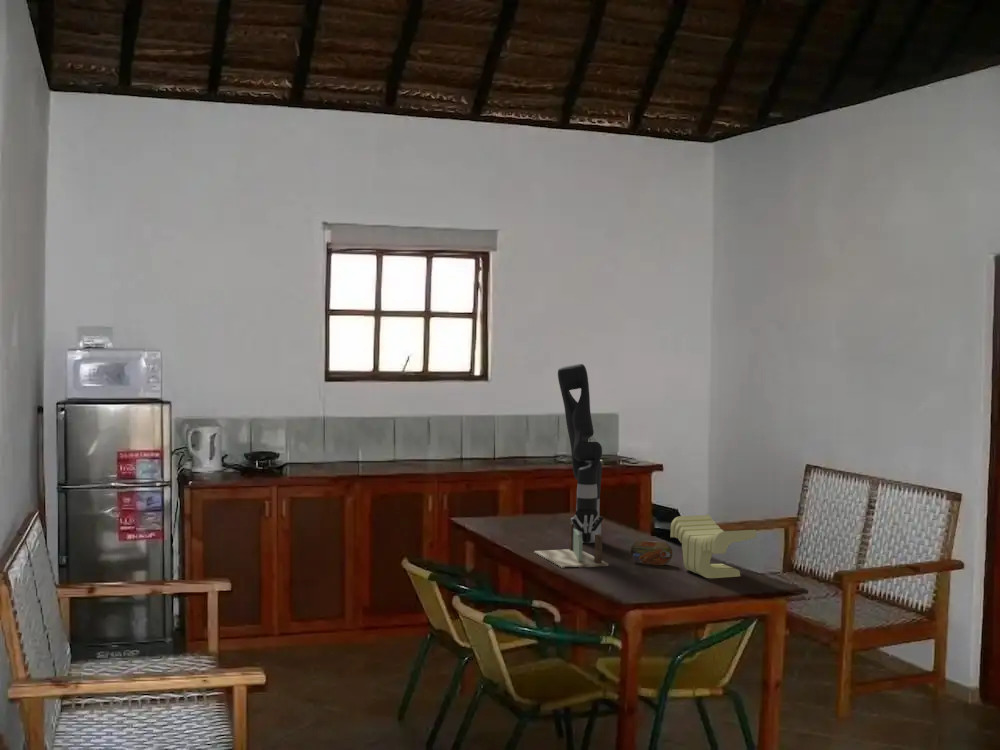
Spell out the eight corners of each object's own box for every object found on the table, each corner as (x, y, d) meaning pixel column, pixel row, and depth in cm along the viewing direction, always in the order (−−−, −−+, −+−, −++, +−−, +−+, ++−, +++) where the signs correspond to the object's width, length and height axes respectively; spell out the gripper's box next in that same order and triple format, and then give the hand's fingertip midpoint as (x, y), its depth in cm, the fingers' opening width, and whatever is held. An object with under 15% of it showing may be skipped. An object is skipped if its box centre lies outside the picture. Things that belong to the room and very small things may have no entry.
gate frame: (578, 550, 417) (578, 522, 417) (608, 565, 392) (608, 535, 391) (534, 553, 411) (534, 524, 411) (561, 568, 386) (562, 538, 385)
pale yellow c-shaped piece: (669, 565, 394) (670, 516, 393) (708, 563, 400) (709, 514, 399) (713, 584, 366) (715, 531, 365) (754, 581, 372) (756, 529, 371)
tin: (630, 562, 398) (630, 539, 398) (632, 561, 401) (632, 538, 400) (671, 566, 393) (671, 543, 392) (672, 565, 396) (673, 541, 395)
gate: (576, 549, 414) (577, 527, 413) (582, 561, 393) (583, 537, 393) (572, 549, 413) (572, 527, 413) (578, 561, 393) (578, 537, 393)
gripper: (599, 493, 407) (598, 539, 408) (566, 495, 403) (565, 541, 404) (607, 496, 400) (607, 543, 401) (574, 498, 396) (573, 545, 396)
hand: (586, 542), depth 402 cm, fingers closed
